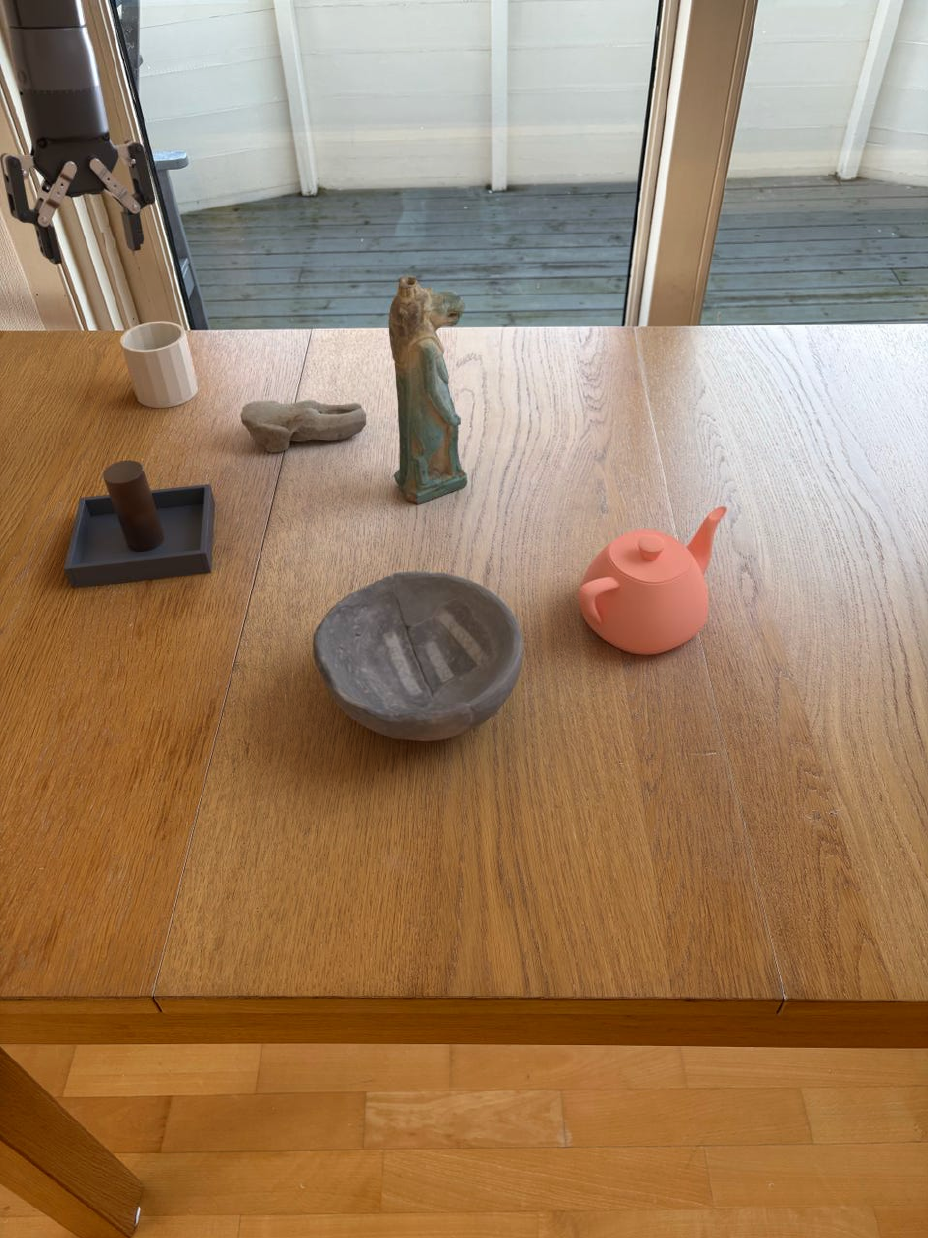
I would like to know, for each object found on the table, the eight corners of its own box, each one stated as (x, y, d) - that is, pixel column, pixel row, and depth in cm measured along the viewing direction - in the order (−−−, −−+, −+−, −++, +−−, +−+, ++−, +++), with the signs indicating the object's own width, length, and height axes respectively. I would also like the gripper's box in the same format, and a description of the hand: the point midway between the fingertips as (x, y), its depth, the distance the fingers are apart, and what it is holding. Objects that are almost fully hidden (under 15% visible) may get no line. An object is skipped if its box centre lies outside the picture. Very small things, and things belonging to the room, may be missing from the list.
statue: (479, 485, 109) (476, 275, 92) (419, 512, 106) (403, 299, 88) (446, 458, 113) (437, 251, 96) (386, 483, 110) (366, 274, 93)
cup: (134, 410, 123) (116, 354, 117) (139, 379, 128) (123, 324, 123) (196, 404, 123) (182, 348, 118) (199, 373, 129) (186, 318, 123)
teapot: (536, 615, 93) (540, 541, 87) (671, 546, 101) (683, 472, 94) (618, 690, 86) (629, 615, 80) (757, 610, 93) (777, 535, 87)
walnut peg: (125, 554, 101) (100, 485, 95) (128, 530, 104) (105, 462, 98) (163, 549, 101) (141, 480, 95) (165, 526, 104) (144, 458, 98)
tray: (71, 588, 98) (63, 569, 96) (87, 516, 107) (80, 497, 105) (211, 572, 99) (205, 552, 97) (215, 502, 108) (210, 483, 106)
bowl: (560, 723, 84) (564, 661, 78) (380, 809, 78) (371, 748, 72) (459, 604, 95) (457, 542, 89) (296, 670, 89) (282, 608, 83)
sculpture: (363, 418, 121) (243, 423, 119) (362, 386, 118) (239, 390, 116) (368, 452, 117) (243, 458, 114) (368, 419, 113) (239, 425, 111)
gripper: (115, 72, 97) (145, 238, 107) (-31, 82, 90) (15, 259, 99) (145, 80, 92) (173, 252, 102) (-6, 90, 85) (39, 275, 95)
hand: (95, 255), depth 101 cm, fingers open, 8 cm apart
